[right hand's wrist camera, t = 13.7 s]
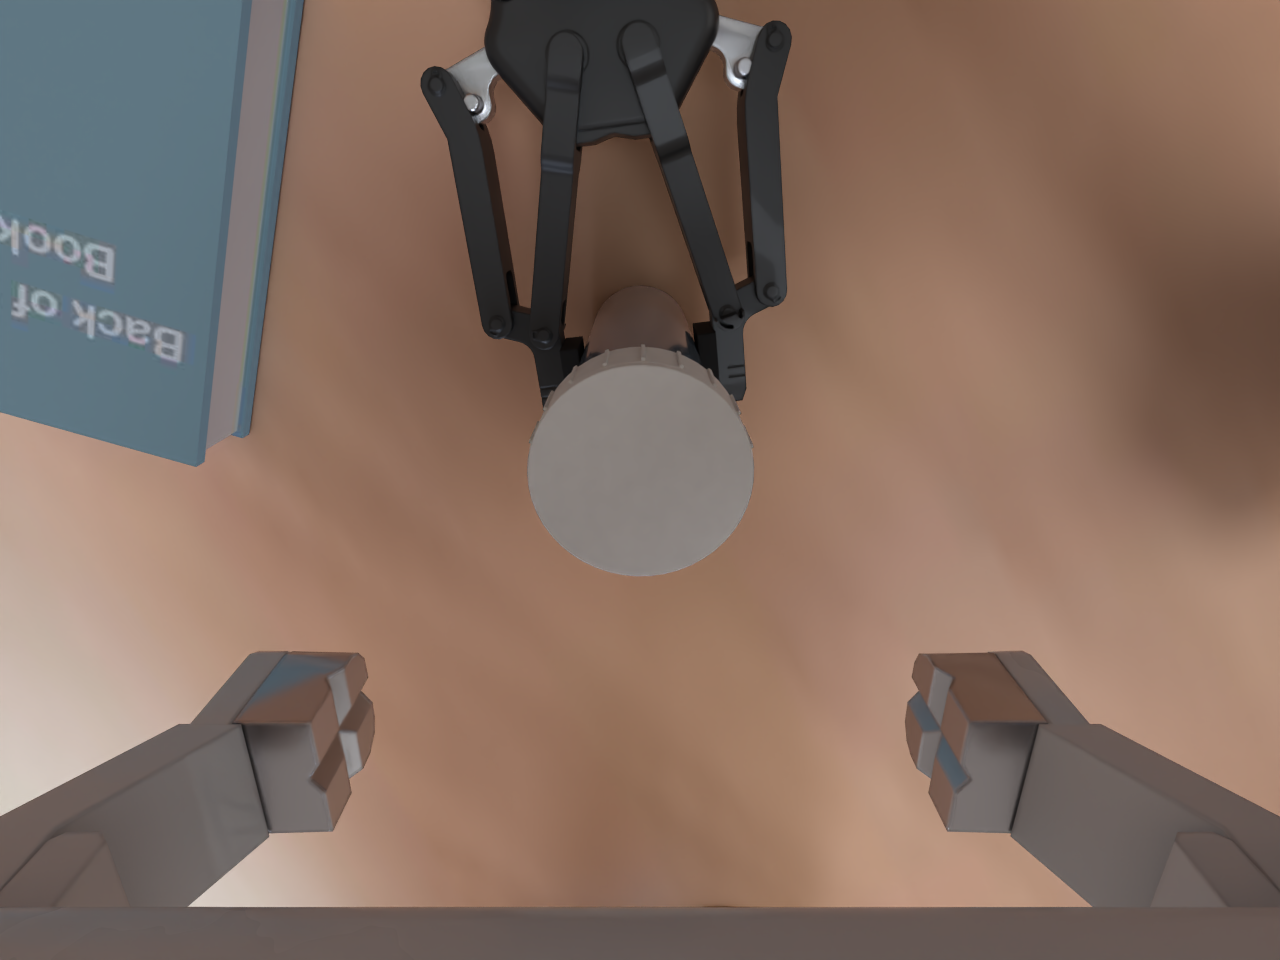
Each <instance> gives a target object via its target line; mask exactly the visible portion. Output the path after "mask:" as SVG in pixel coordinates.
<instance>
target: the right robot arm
mask: <svg viewBox="0 0 1280 960" xmlns="http://www.w3.org/2000/svg"><path fill="white" fill-rule="evenodd" d="M367 679H368V674H367V669H366V664H365V659H364V657H362V656H361V655H360V654H359V653H346V652H299V651H292V652H288V651H258V652H255V653H252V654H250V655H249V656H248V657H247V658H246V659H245V660H244V661H243V663H242V664H241V665H240V666H239V667H238V668H237V670H236V671H235V672H234V673H233V674H232V675H231V677H230V678H229V679H228V680H227V681H226V683H225V684H224V685H223V686H222V687H221V688H220V690H219V691H218V692H217V693H216V694H215V695H214V697H213V698H212V699H211V700H210V701H209V703H208V704H207V705H206V706H205V707H204V708H203V710H202V711H201V712H200V713H199V714H198V715H197V717H196V718H195V719H194V720H193V721H192V722H191V724H178V725H176V726H174V727H173V728H171V729H169V730H167V731H165V732H163V733H161V734H159V735H157V736H155V737H153V738H151V739H149V740H147V741H145V742H143V743H142V744H140V745H138V746H136V747H134V748H132V749H130V750H128V751H126V752H124V753H122V754H120V755H118V756H116V757H114V758H113V759H111V760H109V761H107V762H105V763H103V764H101V765H99V766H97V767H95V768H93V769H91V770H89V771H87V772H85V773H83V774H82V775H80V776H78V777H76V778H74V779H72V780H70V781H68V782H66V783H64V784H62V785H60V786H58V787H56V788H54V789H52V790H51V791H49V792H47V793H45V794H43V795H41V796H39V797H37V798H35V799H33V800H31V801H29V802H27V803H25V804H23V805H22V806H20V807H18V808H16V809H14V810H12V811H10V812H8V813H6V814H4V815H2V816H0V960H1280V817H1279V816H1277V815H1275V814H1273V813H1272V812H1270V811H1268V810H1266V809H1264V808H1262V807H1260V806H1258V805H1256V804H1254V803H1252V802H1250V801H1248V800H1246V799H1245V798H1243V797H1241V796H1239V795H1237V794H1235V793H1233V792H1231V791H1229V790H1227V789H1225V788H1223V787H1221V786H1219V785H1218V784H1216V783H1214V782H1212V781H1210V780H1208V779H1206V778H1204V777H1202V776H1200V775H1198V774H1196V773H1194V772H1192V771H1190V770H1189V769H1187V768H1185V767H1183V766H1181V765H1179V764H1177V763H1175V762H1173V761H1171V760H1169V759H1167V758H1165V757H1163V756H1162V755H1160V754H1158V753H1156V752H1154V751H1152V750H1150V749H1148V748H1146V747H1144V746H1142V745H1140V744H1138V743H1136V742H1134V741H1133V740H1131V739H1129V738H1127V737H1125V736H1123V735H1121V734H1119V733H1117V732H1115V731H1113V730H1111V729H1109V728H1107V727H1106V726H1104V725H1102V724H1089V723H1088V721H1087V720H1086V719H1085V718H1084V717H1083V715H1082V714H1081V713H1080V712H1079V711H1078V710H1077V708H1076V707H1075V706H1074V705H1073V704H1072V703H1071V701H1070V700H1069V699H1068V698H1067V697H1066V696H1065V694H1064V693H1063V692H1062V691H1061V690H1060V688H1059V687H1058V686H1057V685H1056V684H1055V683H1054V681H1053V680H1052V679H1051V678H1050V677H1049V676H1048V674H1047V673H1046V672H1045V671H1044V670H1043V669H1042V667H1041V666H1040V665H1039V664H1038V663H1037V661H1036V660H1035V659H1034V658H1033V657H1032V656H1031V655H1030V654H1028V653H1026V652H1024V651H1000V652H988V653H927V654H918V656H917V658H916V660H915V662H914V668H913V673H912V679H913V680H914V682H915V684H916V686H917V688H918V690H919V691H918V692H917V693H916V694H915V695H914V696H913V697H912V698H911V699H910V700H909V701H908V702H907V710H906V718H905V727H906V740H907V744H908V748H909V751H910V755H911V757H912V759H913V761H914V764H915V766H916V768H917V769H918V770H920V771H921V772H922V773H924V774H925V775H926V776H928V777H929V778H931V782H930V787H929V795H930V797H931V799H932V801H933V803H934V805H935V807H936V809H937V811H938V814H939V816H940V818H941V820H942V822H943V824H944V826H945V828H946V830H947V831H950V832H985V833H1011V837H1012V838H1013V839H1014V840H1016V841H1017V842H1018V843H1019V844H1020V845H1021V846H1023V847H1024V848H1025V849H1026V850H1027V851H1028V852H1030V853H1031V854H1032V855H1033V856H1034V857H1035V858H1037V859H1038V860H1039V861H1040V862H1041V863H1042V864H1044V865H1045V866H1046V867H1047V868H1048V869H1049V870H1051V871H1052V872H1053V873H1054V874H1055V875H1056V876H1058V877H1059V878H1060V879H1061V880H1062V881H1063V882H1065V883H1066V884H1067V885H1068V886H1069V887H1070V888H1072V889H1073V890H1074V891H1075V892H1076V893H1077V894H1079V895H1080V896H1081V897H1082V898H1083V899H1084V900H1086V901H1087V902H1088V903H1089V904H1090V905H1091V906H1093V907H188V906H189V905H190V904H191V903H192V902H193V901H195V900H196V899H197V898H198V897H199V896H200V895H202V894H203V893H204V892H205V891H206V890H207V889H209V888H210V887H211V886H212V885H213V884H214V883H216V882H217V881H218V880H219V879H220V878H222V877H223V876H224V875H225V874H226V873H227V872H229V871H230V870H231V869H232V868H233V867H234V866H236V865H237V864H238V863H239V862H240V861H241V860H243V859H244V858H245V857H246V856H247V855H248V854H250V853H251V852H252V851H253V850H254V849H255V848H257V847H258V846H259V845H260V844H261V843H262V842H264V841H265V840H266V839H267V838H268V837H269V833H294V832H328V831H333V830H334V828H335V826H336V824H337V822H338V820H339V818H340V816H341V814H342V812H343V809H344V807H345V805H346V803H347V801H348V799H349V797H350V795H351V787H350V782H349V778H351V777H352V776H354V775H355V774H356V773H358V772H359V771H360V770H362V769H363V768H364V766H365V763H366V761H367V759H368V757H369V755H370V752H371V747H372V742H373V738H374V733H375V715H374V709H373V702H372V701H371V700H370V699H369V698H368V697H367V696H366V695H365V694H364V693H363V692H362V691H361V690H362V688H363V686H364V684H365V682H366V680H367Z"/></svg>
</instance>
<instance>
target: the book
mask: <svg viewBox="0 0 1280 960" xmlns="http://www.w3.org/2000/svg"><path fill="white" fill-rule="evenodd" d="M303 2H304V0H0V412H2V413H5V414H9V415H12V416H16V417H20V418H23V419H27V420H30V421H34V422H37V423H41V424H45V425H48V426H52V427H55V428H59V429H62V430H66V431H70V432H73V433H77V434H80V435H84V436H87V437H91V438H95V439H98V440H102V441H105V442H109V443H113V444H116V445H120V446H123V447H127V448H130V449H134V450H138V451H141V452H145V453H148V454H152V455H155V456H159V457H163V458H166V459H170V460H173V461H177V462H180V463H184V464H188V465H191V466H195V467H197V466H198V465H200V464H202V463H203V462H204V461H205V451H206V449H207V448H209V447H211V446H213V445H214V444H216V443H218V442H219V441H221V440H223V439H224V438H226V437H228V436H229V435H233V436H237V437H240V438H243V437H245V436H247V435H248V434H249V431H250V423H251V415H252V407H253V399H254V391H255V383H256V375H257V367H258V359H259V351H260V343H261V335H262V327H263V319H264V312H265V304H266V296H267V288H268V280H269V272H270V264H271V256H272V248H273V240H274V232H275V224H276V216H277V208H278V200H279V193H280V185H281V177H282V169H283V161H284V153H285V145H286V137H287V129H288V121H289V113H290V105H291V97H292V89H293V81H294V73H295V66H296V58H297V50H298V42H299V34H300V26H301V18H302V10H303Z"/></svg>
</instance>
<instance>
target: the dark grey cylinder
mask: <svg viewBox="0 0 1280 960" xmlns="http://www.w3.org/2000/svg"><path fill="white" fill-rule="evenodd" d="M641 344H645V347H653V348H660V349H664V350H669V351H673V352H675V353H676V352H677V351H680V352H681V355H683V356H686V357H688V358H689V359H691V360H693V361H695V362H697V363H698V364H700V365H701V366H702V367H703V365H702V363H701V360H700V357H699V354H698V351H697V349H696V346H695V343H694V340H693V337H692V334H691V332H690V329H689V326H688V323H687V320H686V318H685V315H684V313H683V311H682V309H681V307H680V306H679V305H678V303H677V302H676V301H675V300H674V299H673V298H672V297H671V296H669V295H668V294H667V293H665V292H663V291H662V290H659V289H657V288H654V287H650V286H632V287H628V288H624V289H622V290H620V291H618V292H616V293H615V294H613V295H612V296H610V297H609V298H608V299H607V300H606V301H605V302H604V303H603V305H602V306H601V308H600V309H599V311H598V313H597V316H596V318H595V321H594V324H593V327H592V330H591V333H590V335H589V338H588V341H587V344H586V347H585V350H584V352H583V355H582V358H581V361H580V364H579V366H580V365H582V364H583V363H585V362H587V361H588V360H590V359H592V358H594V357H596V356H598V355H601V354H603V353H605V350H607V349H609V351H613V350H616V349H622V348H628V347H641Z"/></svg>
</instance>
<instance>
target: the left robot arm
mask: <svg viewBox="0 0 1280 960" xmlns="http://www.w3.org/2000/svg"><path fill="white" fill-rule="evenodd" d="M791 39H792V36H791V32H790V29H789V28H788V27H787V25H786V24H785V23H783V22H781V21H771V22H769V23H766V25H765V26H764V27H761V26H757V25H754V24H750V23H746V22H742V21H739V20H735V19H731V18H727V17H724V16H720V15H719V12H718V8H717V5H716V2H715V0H491V12H490V18H489V22H488V25H487V28H486V32H485V39H484V44H485V47H484V48H482V49H480V50H479V51H477V52H475V53H474V54H472V55H470V56H468V57H467V58H465V59H463V60H462V61H460V62H458V63H457V64H455V65H453V66H451V67H450V68H448V69H446V70H445V69H443V68H441V67H436V66H434V67H430V68H428V69H427V70H426V71H425V72H424V73H423V75H422V77H421V89H422V92H423V94H424V96H425V98H426V100H427V102H428V104H429V106H430V108H431V109H432V111H433V113H434V115H435V117H436V119H437V121H438V123H439V124H440V126H441V128H442V130H443V132H444V134H445V136H446V138H447V139H448V145H449V150H450V156H451V161H452V166H453V172H454V177H455V182H456V188H457V193H458V198H459V204H460V209H461V214H462V220H463V225H464V231H465V236H466V241H467V247H468V252H469V257H470V263H471V268H472V273H473V279H474V284H475V290H476V295H477V300H478V306H479V311H480V316H481V322H482V326H483V329H484V332H485V333H486V334H487V335H488V336H490V337H492V338H493V339H502V338H505V339H509V340H514V341H518V342H521V343H524V344H525V345H527V346H528V347H529V348H530V349H531V351H532V352H533V354H534V358H535V363H536V369H537V374H538V380H539V386H540V392H541V397H542V404H543V408H544V405H545V403H546V401H547V399H548V396H549V394H550V392H551V391H554V392H555V390H556V389H557V387H558V386H559V384H560V383H561V382H562V381H563V380H564V379H565V378H566V377H567V376H568V375H569V374H570V373H571V372H572V370H573V367H574V366H576V365H577V366H578V367H579V364H580V361H581V358H582V355H583V352H584V350H585V349H584V342H583V336H581V337H573V338H566V339H565V336H564V329H565V325H566V324H565V314H566V303H567V293H568V282H569V271H570V261H571V250H572V239H573V229H574V218H575V208H576V197H577V186H578V176H579V171H580V164H581V154H582V146H590V145H596V144H598V143H601V142H603V141H605V140H607V139H610V138H612V137H621V138H628V139H634V140H636V139H644V138H649V139H650V142H651V144H652V147H653V150H654V153H655V156H656V159H657V161H658V164H659V167H660V169H661V172H662V175H663V178H664V181H665V184H666V187H667V190H668V193H669V196H670V199H671V202H672V204H673V207H674V210H675V213H676V216H677V219H678V222H679V225H680V228H681V231H682V234H683V237H684V240H685V242H686V245H687V248H688V251H689V254H690V257H691V260H692V263H693V266H694V269H695V272H696V275H697V277H698V280H699V283H700V286H701V289H702V292H703V295H704V298H705V301H706V304H707V307H708V310H709V316H710V321H708V322H700V323H693V332H694V343H695V346H696V349H697V351H698V354H699V357H700V360H701V363H702V365H703V367H704V368H705V369H708V368H710V369H711V370H712V373H713V375H714V377H715V378H716V379H717V380H718V381H719V382H720V383H721V384H722V386H723V387H724V388H725V389H726V391H727V392H728V394H729V395H731V394H732V395H733V397H734V399H735V401H740V400H743V397H744V394H745V391H746V376H745V360H744V344H743V328H744V324H745V323H746V321H747V320H748V319H749V318H750V316H752V315H754V314H755V313H757V312H759V311H761V310H763V309H765V308H767V307H774V306H777V305H779V304H780V303H781V302H783V300H784V299H785V297H786V293H787V280H786V260H785V240H784V220H783V200H782V180H781V160H780V140H779V120H778V100H777V96H778V92H779V88H780V84H781V81H782V77H783V73H784V69H785V65H786V62H787V58H788V54H789V50H790V47H791ZM709 51H713V52H715V53H716V54H718V55H719V56H720V58H721V60H722V63H723V77H724V80H725V83H726V84H727V86H728V87H729V88H731V89H733V90H735V91H739V93H738V100H737V129H738V144H739V158H740V173H741V187H742V202H743V216H744V231H745V245H746V259H747V274H748V278H747V279H745V280H743V281H741V282H739V283H737V284H734V281H733V278H732V275H731V272H730V269H729V266H728V263H727V260H726V257H725V254H724V250H723V247H722V244H721V241H720V238H719V235H718V232H717V229H716V226H715V223H714V220H713V217H712V214H711V210H710V207H709V204H708V201H707V198H706V195H705V192H704V189H703V186H702V183H701V180H700V177H699V174H698V171H697V167H696V164H695V161H694V158H693V155H692V152H691V148H690V144H689V140H688V137H687V133H686V130H685V127H684V124H683V121H682V118H681V115H680V112H679V108H680V107H681V105H682V103H683V101H684V99H685V97H686V95H687V93H688V91H689V89H690V87H691V85H692V83H693V81H694V80H695V78H696V76H697V74H698V72H699V70H700V68H701V66H702V64H703V62H704V60H705V58H706V56H707V54H708V53H709ZM501 79H503V80H504V81H505V82H506V83H507V85H508V86H509V87H510V88H511V89H512V90H513V91H514V93H515V94H516V95H517V96H518V97H519V98H520V99H521V101H522V102H523V103H524V104H525V105H526V106H527V108H528V109H529V110H530V111H531V112H532V113H533V114H534V116H535V117H536V118H537V119H538V120H539V121H540V122H541V124H542V125H543V132H542V145H541V182H540V195H539V208H538V221H537V234H536V247H535V260H534V274H533V287H532V300H531V308H527V307H523V306H520V305H519V299H518V293H517V287H516V281H515V275H514V269H513V263H512V257H511V251H510V245H509V239H508V233H507V227H506V221H505V215H504V209H503V203H502V197H501V191H500V185H499V179H498V173H497V167H496V161H495V155H494V150H493V145H492V141H491V138H490V135H489V132H488V129H487V126H486V124H487V123H489V122H490V121H491V120H492V119H493V117H494V115H495V112H496V105H495V101H494V97H493V93H494V88H495V85H496V84H497V82H498V81H499V80H501Z"/></svg>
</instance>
